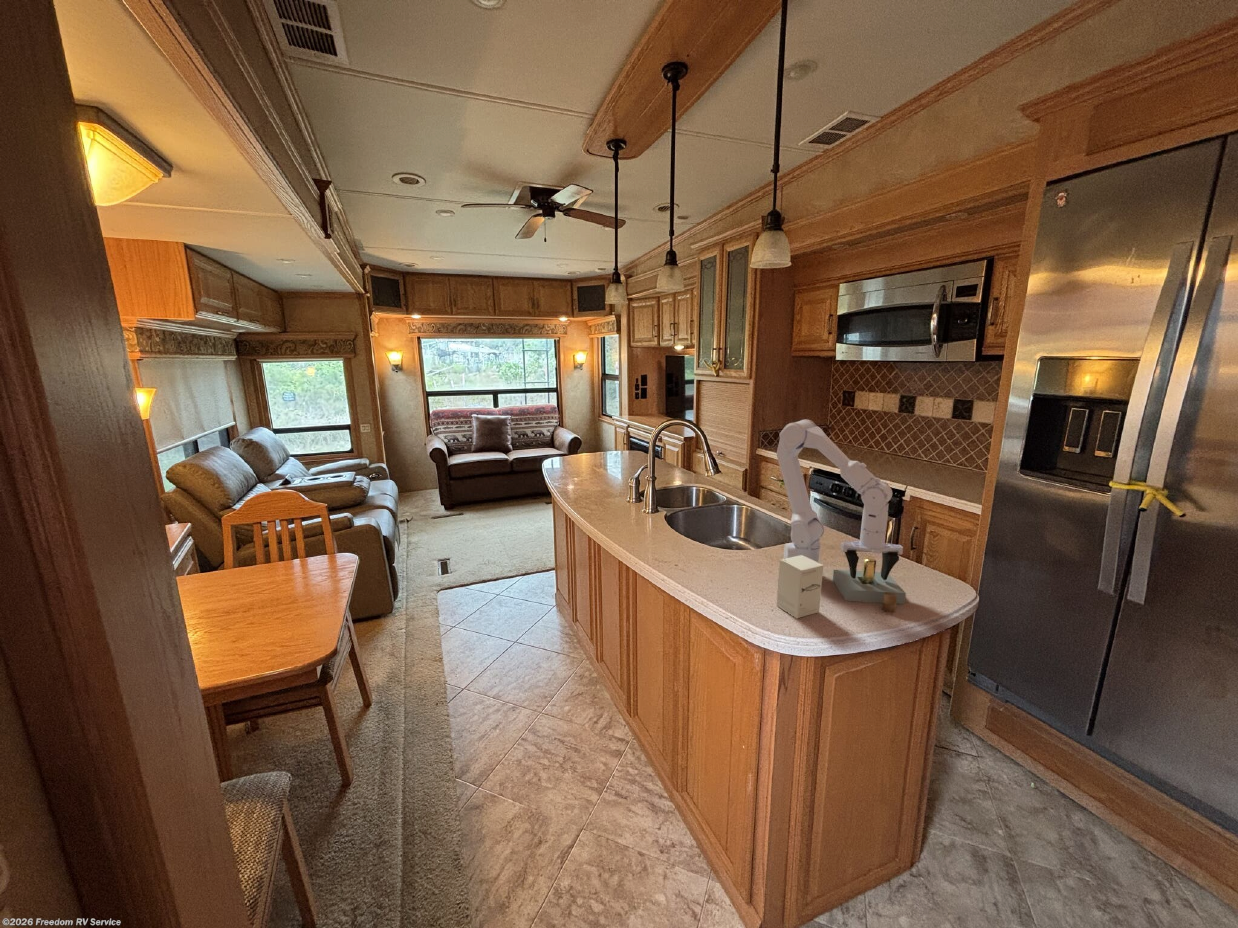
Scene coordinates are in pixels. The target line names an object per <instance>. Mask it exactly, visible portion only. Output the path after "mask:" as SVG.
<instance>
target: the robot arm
mask: <svg viewBox="0 0 1238 928" xmlns="http://www.w3.org/2000/svg"><path fill="white" fill-rule="evenodd" d="M804 448H808V449H815V450H818V451H819V453H821V454H822V455H824V456H825V457H826V458H827V459H828V460H829V461H830V462H831V463H833V464H834V466H836V467H837V468H838V469H839V470H840V471H839V472H840V477H841V478H842V479H843V480H844V481H845V482H846V483H848V485H849V486H850V487H852V488H853V489H854V491H855V492H857V493H858V494H859V495H860V496H861V497H860V499H861V502H862V503H863V510H862V518H861V525H860V526H861V527H860V536H859V541H847V542H843V541H841V542H840V543H841V544H840V550H841V551H842V552H843V553H844V554H845V557H846V559H847V562H848V567H849V570H850V575H851V577H852V578H856V571H857V567H858V562H859V559H860V556H859V555H858V553H857V552H861V553H863V552H864V553H872V554H881V559H882V560H881V561H882V563H881V570H880V572H881V577H882V578H883V580H887V577H888V575H890V572H891V571H892V569H893V568H894V566H895V565H896V564H897V563H898V562H899V561H900V556H899V555H903V554H904V553H903V552H904V547H903V546H902V545H901V544H894V543H888V542H886V536H887V535H886V534H887V526H888V518H889V512H888V511H889V505H890V503H889V501H891V499H892V497H893V490H892V487H891V486H890V485H889V484H888V483H887V482H886V481H883V480H882V479H881V478H880V477H876V476H875V475H874V474H873V473H872V472H871V471H869V470H868V469H867V468H866V467H867V466H868V465H866V464H865V462H860V461H859V460H851V459H850V458H849V457H848V456H847V455H846V454H845V453H844V452H843V451H842V450H841V449H840V448H839V447H838V445H836V444H835V442H833V440H832V439H830V438H829V437H828V435H826V433H825V432H824V430H823V429H822V428H821V427H819V426H818V425H816V424H815V422H814V421H813V420H810V419H801V420H799V421H795V422H790V423H788V424H786V425H785V426H784V427H783V429H782V430H781V431H780V432H779V442H778V445H777V448H776V449H777V451H776V458H777V461H778V464H779V465H778V466H779V468H780V472H781V475H782V480H783V483H784V487H785V491H786V495H787V497H788V502H789V506H790V509H791V513H792V515H791V519H790V523H789V524H790V528H791V531H790V539H791V541H792V542H789V543H788V542H787V543H784V546H783V547H784V548H783V558H782V559H786V558H790V557H795V556H799V555H803V556H805V557H807V558H809V559H812V560H814V561H816V562H818V563H820V553H821V542H820V538H822V537H823V535H824V534H825V527H824V524H823V523H822V521H820V519H819V517H818V513H817V512H816V511H814V510H813V508H812V504H811V501H810V500H811V499H810V497H809V494H808V490H807V486H806V483H805V482H806V481H805V477H804V476H803V475H804V474H803V471H802V468H801V463H800V460H799V454H800V452H802V450H803V449H804Z"/></svg>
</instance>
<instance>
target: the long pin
mask: <svg viewBox="0 0 1238 928" xmlns="http://www.w3.org/2000/svg"><path fill="white" fill-rule="evenodd" d="M876 567H877V560H876V559H875V558H873V557H865V558H864V559H863V568H862V569H863V570H862V571H863V576H862V584H873V585H874V577H875V572H876Z"/></svg>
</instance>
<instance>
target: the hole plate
mask: <svg viewBox="0 0 1238 928" xmlns="http://www.w3.org/2000/svg"><path fill="white" fill-rule="evenodd" d="M862 576H863V570H856V578H852V577H851V575H850V569H833V573H832V581H833V583H834V584H835V586H836V587H837V589H838V590H839V592H840V593H841V596H842V597H843V599H844V600H845V601H847V602H862V603H863V602H865V603H881V604H883V597H884V593H886V592H889V593H893V594H895V595H897V600H896V605H905V602H906V596H907V595H906V594H907V593H906V591H905V590H904V589H903V588H902V587H901V586H900V585H899V584H898V582H896V580H895V579H894V578H893V577H892V576H891V574H889V575H888V577H887V580H883V578H882V577H881V571H875V577H874V585H873V584H862Z"/></svg>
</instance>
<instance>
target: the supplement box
mask: <svg viewBox="0 0 1238 928" xmlns="http://www.w3.org/2000/svg"><path fill="white" fill-rule="evenodd" d="M778 566H779V567H778V579H777V580H778V581H777V593H776V594H777V595H776V606H777V607H778V608H780V609H781V610H783V611H784V612H786V613H787V612H788V613H787V614H789V615H790V614H791V615H790V616H792V617H793V616H794V617H793V618H795V619H799V618H802V617H806V616H809V615H813V614H816V613H819V612H820V607H821V606H820V605H821V598H822V597H821V596H822V595H821V593H822V587H823V586H822V584H823V576H824V575H823V574H824V564H822V563H820V562H819V563H818V562H816V561H814V560H812V559H809V558H807V557H805V556H803V555H799V556H795V557H790V558H786V559H783V558H782V559H779V564H778Z"/></svg>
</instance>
